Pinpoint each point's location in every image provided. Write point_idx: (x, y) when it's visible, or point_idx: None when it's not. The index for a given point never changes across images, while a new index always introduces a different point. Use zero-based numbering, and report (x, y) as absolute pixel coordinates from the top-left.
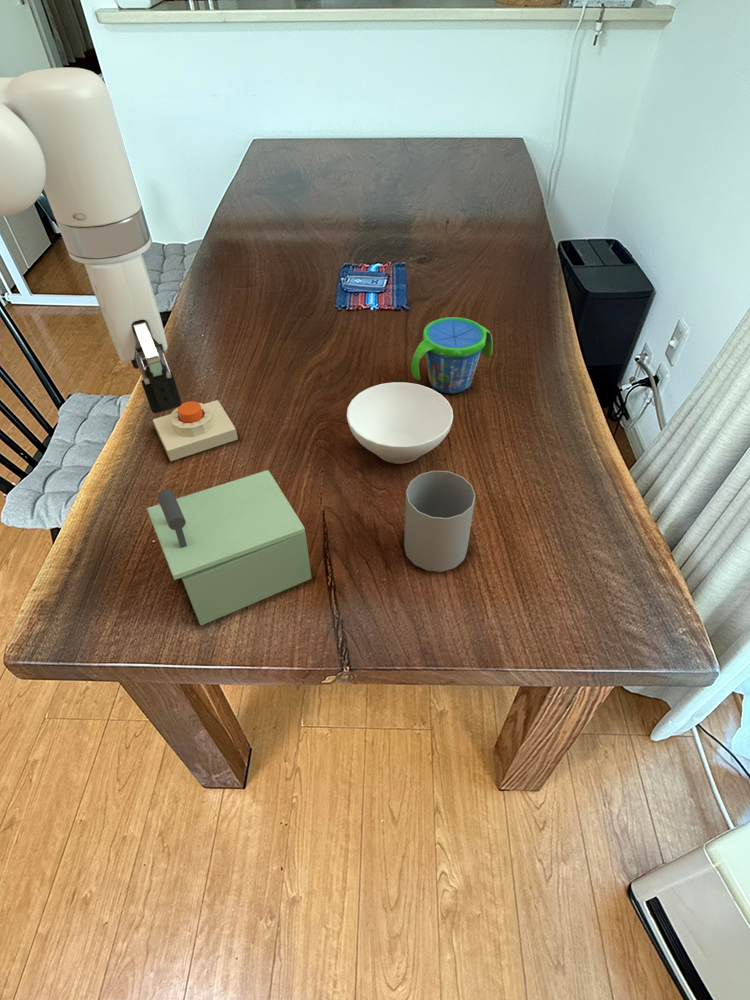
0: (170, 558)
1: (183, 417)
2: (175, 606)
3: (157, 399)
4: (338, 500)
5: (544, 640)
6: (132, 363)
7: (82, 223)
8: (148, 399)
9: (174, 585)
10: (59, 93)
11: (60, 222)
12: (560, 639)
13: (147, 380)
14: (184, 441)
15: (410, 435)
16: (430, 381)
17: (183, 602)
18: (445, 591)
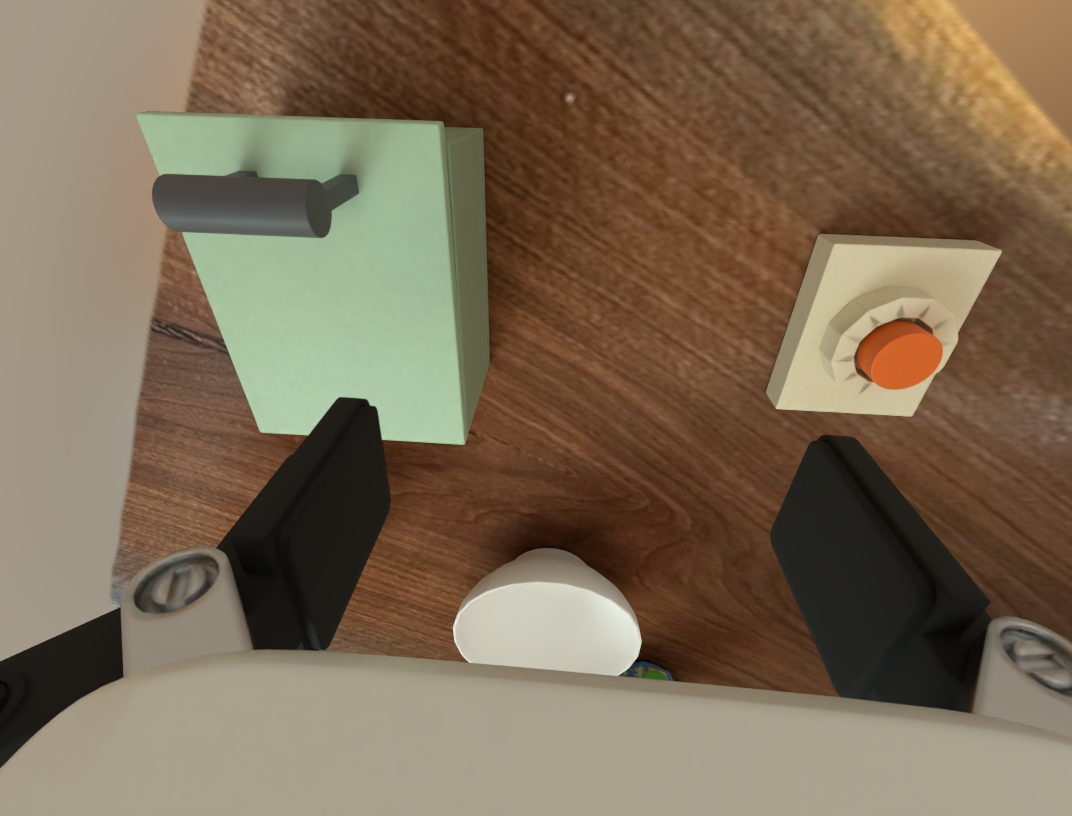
0: (201, 128)
1: (890, 334)
2: (347, 83)
3: (266, 487)
4: (486, 461)
5: (157, 528)
6: (838, 453)
7: None
8: (299, 448)
9: (408, 102)
10: None
11: None
12: (156, 539)
13: (141, 599)
14: (831, 295)
15: (564, 596)
16: (651, 669)
17: (352, 106)
18: (253, 487)
